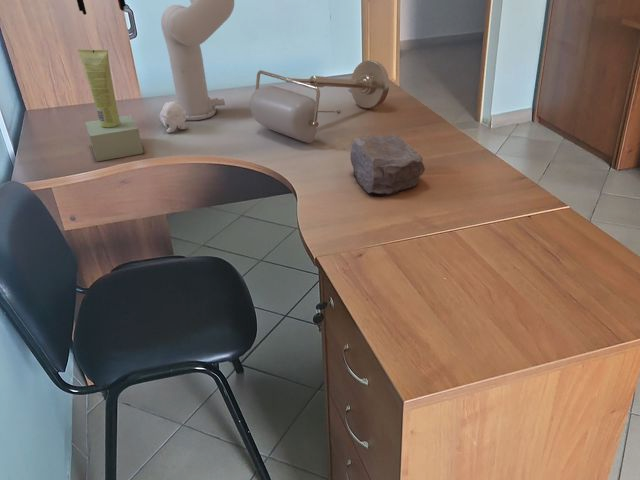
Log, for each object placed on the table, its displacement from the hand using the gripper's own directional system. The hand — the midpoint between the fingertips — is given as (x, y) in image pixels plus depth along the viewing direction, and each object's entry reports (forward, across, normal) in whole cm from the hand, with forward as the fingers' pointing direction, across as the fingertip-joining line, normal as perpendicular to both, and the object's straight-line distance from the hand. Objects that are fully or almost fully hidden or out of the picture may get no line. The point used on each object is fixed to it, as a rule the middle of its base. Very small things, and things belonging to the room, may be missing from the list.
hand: (103, 11), depth 158 cm
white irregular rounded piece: (+32, +11, -7) cm, 35 cm away
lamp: (+33, +53, -25) cm, 67 cm away
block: (+32, -6, -16) cm, 37 cm away
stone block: (+33, +48, -70) cm, 91 cm away
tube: (+25, -6, -16) cm, 31 cm away
